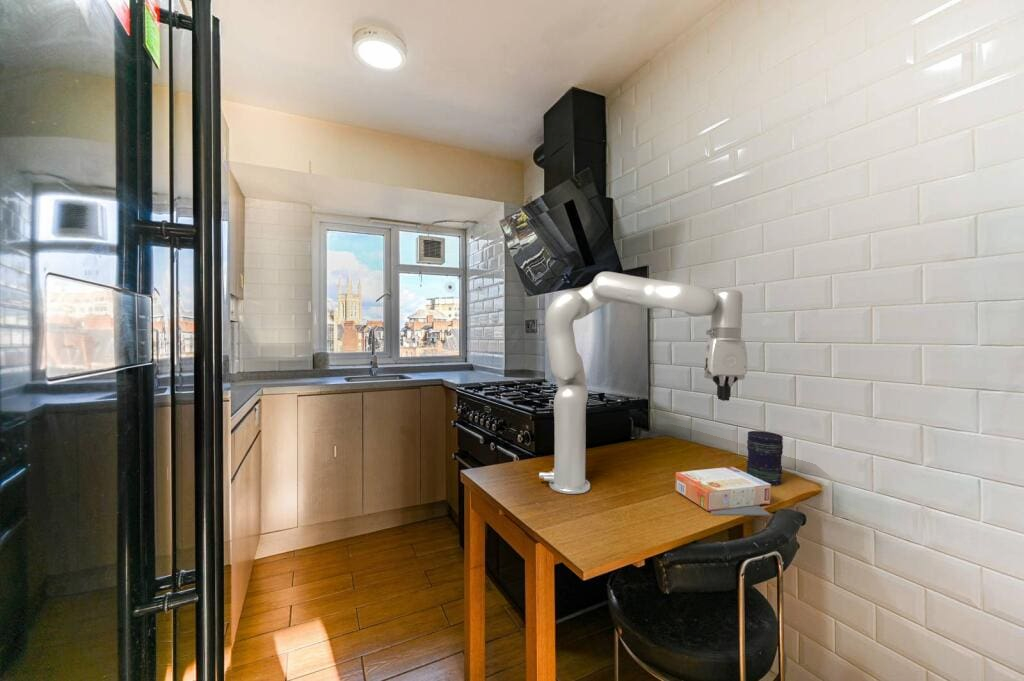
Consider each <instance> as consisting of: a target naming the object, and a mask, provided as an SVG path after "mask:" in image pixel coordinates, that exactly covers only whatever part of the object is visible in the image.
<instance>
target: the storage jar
mask: <svg viewBox="0 0 1024 681" xmlns="http://www.w3.org/2000/svg"><path fill="white" fill-rule="evenodd" d="M746 442H747V443H746V444H747V446H746V448H747V461H746V473H747V474H750V475H752V476H754V477H756V478H758V479H760V480H763V481H765V482H767V483H769V484H771V487H780V486H781V485H782V477H783V465H782V455H783V449H784V437H783V435H780V434H778V433H775V432H771V431H770V432H769V431H761V430H760V431H759V430H752V431H751V430H750V431H748V432H747V441H746Z"/></svg>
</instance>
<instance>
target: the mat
mask: <svg viewBox="0 0 1024 681" xmlns="http://www.w3.org/2000/svg"><path fill="white" fill-rule="evenodd" d="M709 512H710V514H712V515H713V516H758V517H759V516H762V517H763V516H771V513H770V512H768V511H767V510H765V508H763V507H762V506H761V505H753V506H745V507H737V508H729V509H721V510H713V511H709Z"/></svg>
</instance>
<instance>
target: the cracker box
mask: <svg viewBox="0 0 1024 681" xmlns="http://www.w3.org/2000/svg"><path fill="white" fill-rule="evenodd" d="M771 489H772V486H771V484H769V483H767V482H765V481H763V480H760V479H758V478H756V477H754V476H752V475H750V474H747V472H745V471H743V470H741V469H738V468H736V467H734V466H727V467H717V468H708V469H707V468H706V469H696V470H686V471H685V470H684V471H675V489H674V490H675V492H678V493H679V494H681V495H682V496H684V497H685V498H687V499H688V500H689V501H692V502H693V503H695V504H696V505H697V506H700V507H701V508H702V509H704V510H706V511H707V512H710V511H713V510H721V509H729V508H737V507H745V506H753V505H759V506H761V505H767V504H771Z"/></svg>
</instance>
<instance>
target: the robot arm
mask: <svg viewBox="0 0 1024 681" xmlns="http://www.w3.org/2000/svg"><path fill="white" fill-rule="evenodd" d="M610 302H613V303H619V304H623V305H629V306H633V307H638V308H642V309H643V308H645V309H665V310H672V311H678V312H683V313H685V314H686V315H687V316H690V317H694V318H695V317H702V316H711V322H710V323H711V324H710V325H711V326H710V329H706V330H705V331H706V332H705V333H706V336H709V337H710V338H709V339H708V341H707V344H706V348H705V354H704V361H703V362H704V363H703V366H704V367H703V368H704V375H703V376H704V379H708V380H712V381H713V382H714V383H715V385H716V387H717V388H716V396H717V399H718V400H720V401H724V402H726V401H727V402H728V401H730V397H731V395H732V394H731V388H732V387H733V385H734V384H735V383H736V381H741V380H745V375H747V373H748V356H747V355H748V354H747V353H748V352H747V347H746V342H745V339H742V326H743V324H742V323H743V293H742V291H740V290H738V289H724V290H723V289H722V290H717V291H713V290H711V289H709V288H708V287H704V286H699V285H695V284H694V285H693V284H689V283H683V282H677V281H675V282H674V281H667V280H660V279H653V278H647V277H643V276H635V275H630V274H625V273H619V272H614V271H601V272H599V273H597V274H596V275H595V276H594V278H593V280H592V281H591V282H590V283H589V284H587V285H585V286H584V287H582V288H580V289H578V290H577V291H575V290H568V291H565V292H563V293H561V294H560V295H558V296H557V297H556V298H554V300H553V301H552V302H551V303H550V304H549V306H548V309H547V311H546V314H545V318H544V319H545V323H544V326H545V335H546V342H547V350H548V351H547V352H548V356H549V364H550V370H551V373H552V375H553V377H555V379H556V385H557V391H556V392H555V394H554V399H553V417H554V418H553V419H554V422H553V423H554V447H553V449H554V451H553V452H554V455H553V456H554V458H553V460H554V461H553V462H554V463H553V465H554V466H553V467H554V468H552V471H548V472H545V471H539V472H538V478H539V479H543V481H544V482H545V481H547V482H548V485H549V487H550V489H551V490H553V491H555V492H558V493H561V494H567V495H578V494H579V495H580V494H584V493H587V492H588V491H589V490H590V489H591V483H590V481H588V479H586V449H587V448H586V445H587V444H586V442H587V438H586V437H587V436H586V434H587V433H586V432H587V431H586V429H587V426H586V424H587V423H586V422H587V421H586V420H587V418H586V416H587V415H586V414H587V411H586V408H587V402H588V399H589V398H588V397H589V394H588V393H589V392H588V386H587V380H586V373H585V367H584V362H583V359H582V358H583V357H582V356H581V355H580V353H579V352H578V350H577V345H576V337H575V332H574V322H575V321H577V320H581V319H583V318H585V317H587V316H588V315H590V314H592V313H593V312H595V311H597V310H599V309H600V308H603V307H604V306H606V305H607V304H608V303H610Z"/></svg>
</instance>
